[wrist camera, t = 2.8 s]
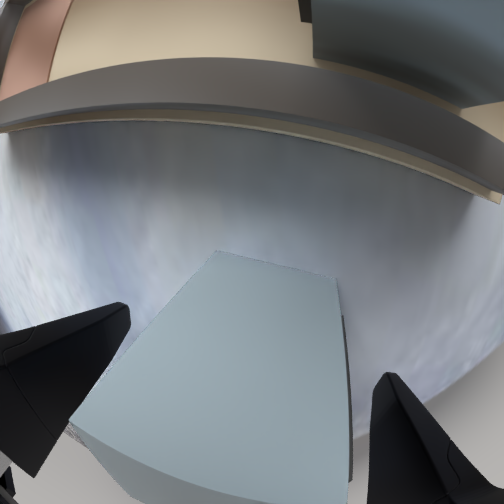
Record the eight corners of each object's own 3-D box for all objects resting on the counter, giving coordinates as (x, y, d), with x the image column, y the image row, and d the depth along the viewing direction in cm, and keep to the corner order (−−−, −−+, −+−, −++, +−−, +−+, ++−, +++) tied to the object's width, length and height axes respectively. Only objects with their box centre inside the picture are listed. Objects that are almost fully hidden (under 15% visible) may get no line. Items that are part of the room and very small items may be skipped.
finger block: (304, 382, 10) (277, 539, 4) (205, 357, 11) (130, 496, 5) (344, 280, 8) (366, 507, 2) (216, 250, 9) (68, 419, 3)
